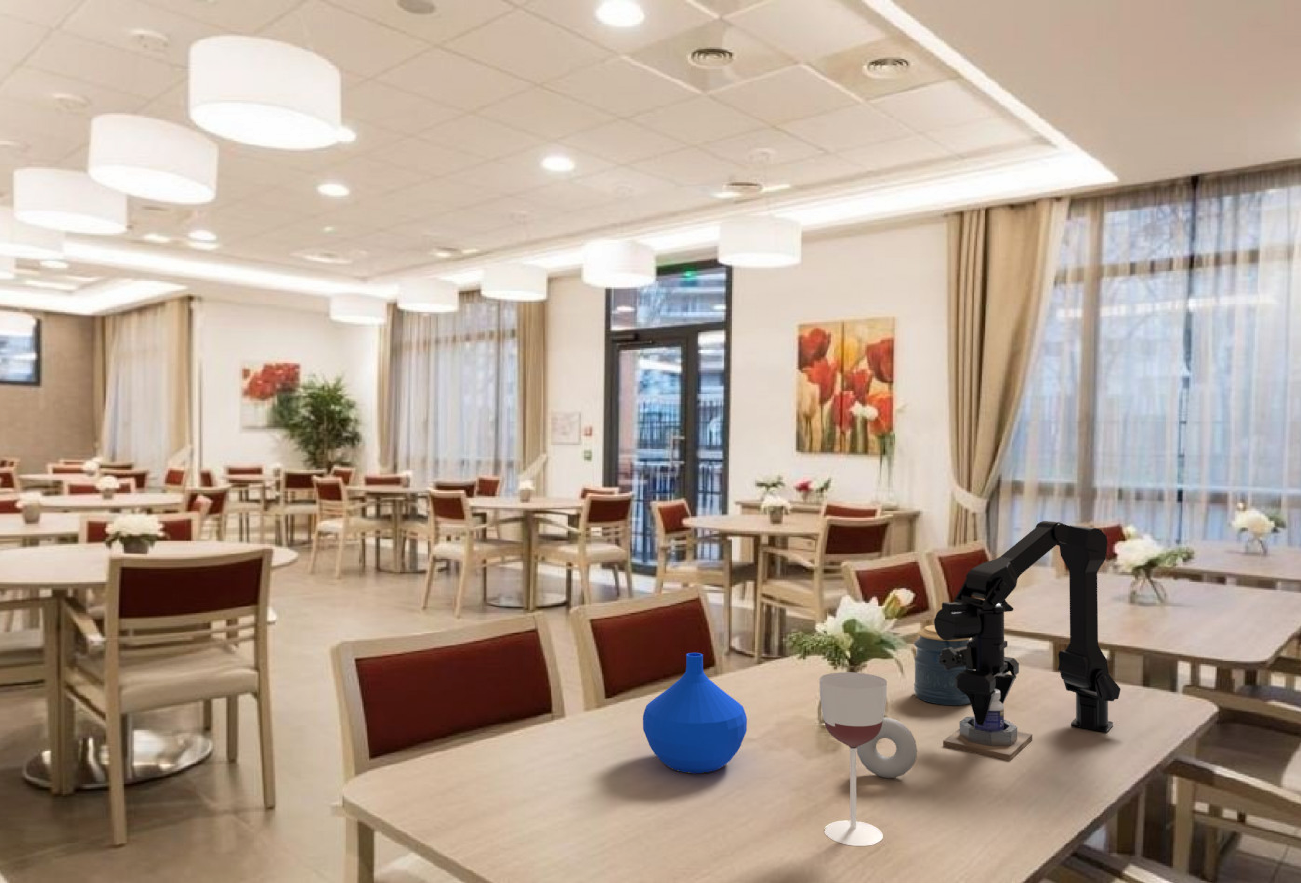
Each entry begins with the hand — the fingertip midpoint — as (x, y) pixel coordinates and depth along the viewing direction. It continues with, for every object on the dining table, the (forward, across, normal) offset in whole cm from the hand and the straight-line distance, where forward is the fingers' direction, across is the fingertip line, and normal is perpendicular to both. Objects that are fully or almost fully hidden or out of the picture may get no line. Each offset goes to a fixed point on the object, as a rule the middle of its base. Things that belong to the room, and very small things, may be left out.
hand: (988, 718), depth 163 cm
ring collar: (+4, 0, 0) cm, 4 cm away
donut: (+5, +28, -8) cm, 29 cm away
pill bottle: (+4, 0, 0) cm, 4 cm away
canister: (+5, -24, -17) cm, 30 cm away
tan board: (+4, 0, 0) cm, 4 cm away
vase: (+5, +43, -37) cm, 57 cm away
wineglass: (+5, +51, -3) cm, 51 cm away
